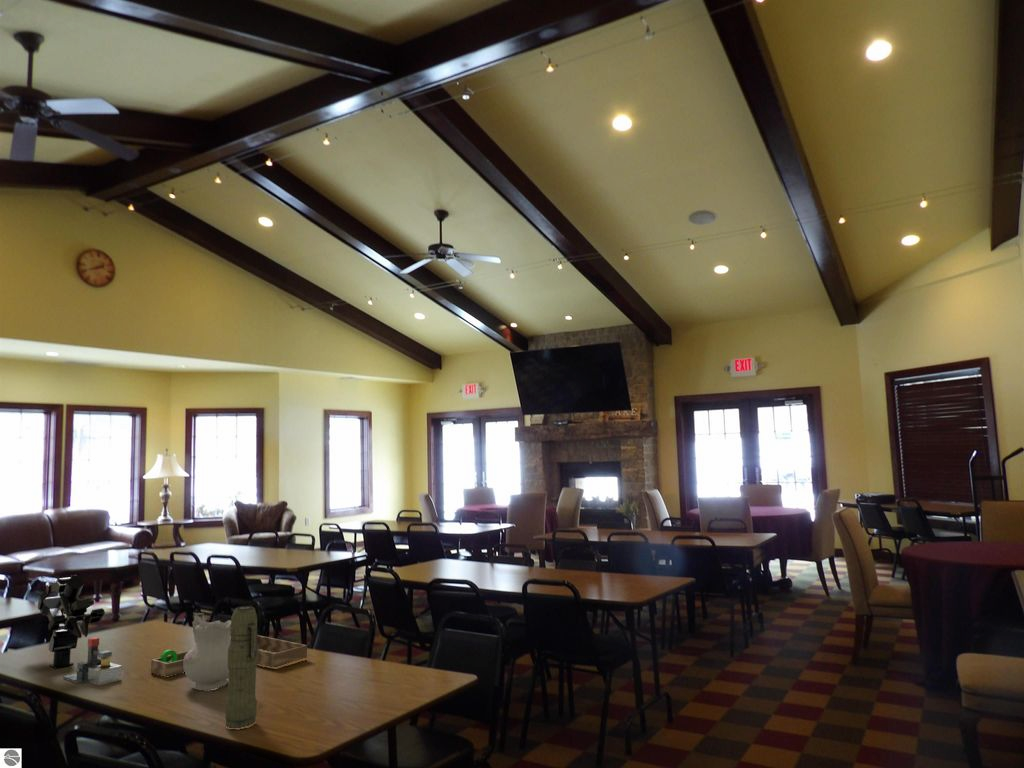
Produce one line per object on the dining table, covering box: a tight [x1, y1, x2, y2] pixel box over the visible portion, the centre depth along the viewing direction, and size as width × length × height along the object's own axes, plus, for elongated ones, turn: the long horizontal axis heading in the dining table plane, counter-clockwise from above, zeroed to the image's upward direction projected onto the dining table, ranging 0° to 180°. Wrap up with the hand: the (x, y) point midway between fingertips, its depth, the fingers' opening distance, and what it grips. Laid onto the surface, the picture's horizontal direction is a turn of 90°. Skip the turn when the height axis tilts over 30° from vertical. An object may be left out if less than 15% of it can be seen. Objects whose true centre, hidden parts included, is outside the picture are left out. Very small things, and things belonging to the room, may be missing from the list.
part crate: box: [150, 650, 190, 677], centre depth 276 cm, size 11×17×5 cm, turn 146°
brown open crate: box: [257, 634, 308, 667], centre depth 291 cm, size 35×16×6 cm, turn 56°
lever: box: [84, 636, 113, 673], centre depth 267 cm, size 16×4×12 cm, turn 56°
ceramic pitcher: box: [183, 612, 231, 691], centre depth 258 cm, size 22×20×25 cm
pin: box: [101, 657, 111, 668], centre depth 263 cm, size 3×3×3 cm
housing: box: [87, 662, 123, 686], centre depth 263 cm, size 8×8×5 cm
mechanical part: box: [159, 649, 178, 663], centre depth 277 cm, size 12×6×8 cm, turn 136°
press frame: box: [62, 657, 101, 685], centre depth 268 cm, size 12×14×6 cm
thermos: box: [224, 605, 258, 728], centre depth 219 cm, size 9×12×35 cm
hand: (83, 636), depth 274 cm, fingers closed
